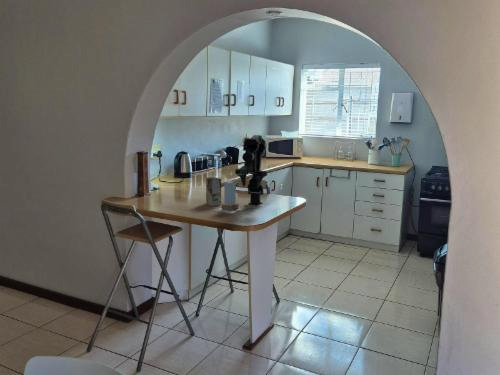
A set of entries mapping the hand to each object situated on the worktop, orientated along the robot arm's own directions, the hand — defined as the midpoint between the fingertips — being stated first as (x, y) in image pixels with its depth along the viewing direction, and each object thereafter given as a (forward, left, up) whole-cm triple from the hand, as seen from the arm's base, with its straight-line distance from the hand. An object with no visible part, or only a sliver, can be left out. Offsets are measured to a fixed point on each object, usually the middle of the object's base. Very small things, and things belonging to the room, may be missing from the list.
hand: (250, 187), depth 259 cm
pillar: (+8, -9, -10) cm, 15 cm away
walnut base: (+8, -9, -13) cm, 18 cm away
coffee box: (+2, -26, -13) cm, 29 cm away
